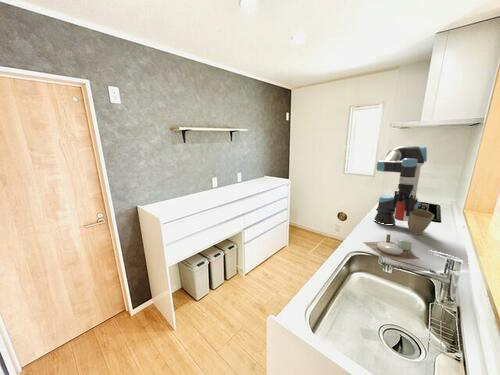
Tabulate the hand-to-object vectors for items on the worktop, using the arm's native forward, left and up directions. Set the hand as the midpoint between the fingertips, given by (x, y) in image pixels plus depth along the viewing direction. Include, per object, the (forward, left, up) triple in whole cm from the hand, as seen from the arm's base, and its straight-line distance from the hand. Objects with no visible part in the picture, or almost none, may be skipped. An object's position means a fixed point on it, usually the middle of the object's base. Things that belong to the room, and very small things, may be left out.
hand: (400, 218), depth 130 cm
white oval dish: (+9, -9, -16) cm, 21 cm away
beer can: (0, 0, -1) cm, 1 cm away
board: (+9, -12, -18) cm, 23 cm away
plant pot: (-18, +30, -17) cm, 39 cm away
